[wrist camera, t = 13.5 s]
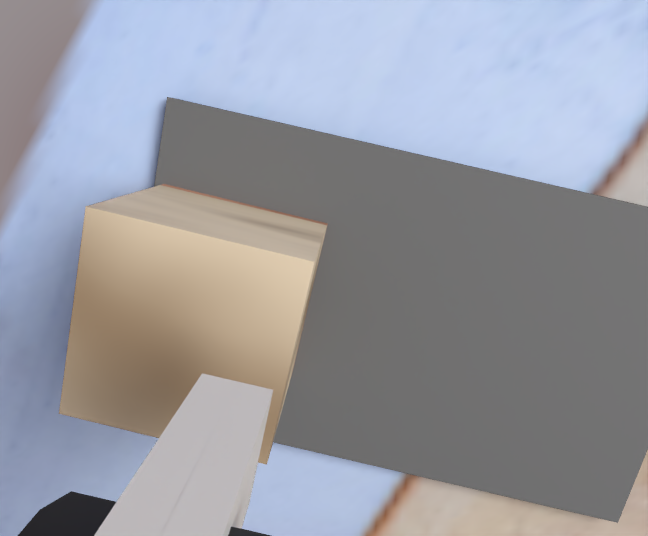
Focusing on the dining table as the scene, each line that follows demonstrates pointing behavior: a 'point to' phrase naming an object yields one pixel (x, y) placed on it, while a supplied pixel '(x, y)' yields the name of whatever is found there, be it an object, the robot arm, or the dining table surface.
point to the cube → (184, 304)
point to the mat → (448, 311)
